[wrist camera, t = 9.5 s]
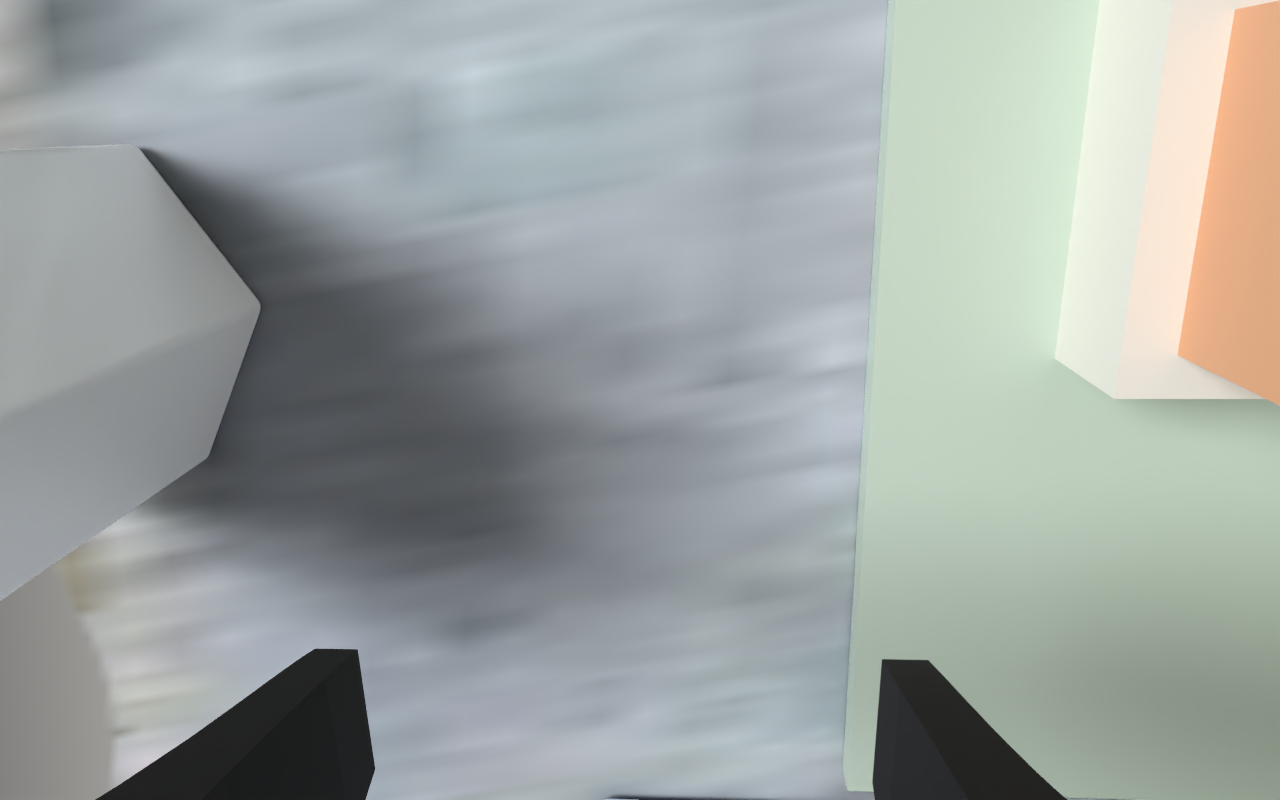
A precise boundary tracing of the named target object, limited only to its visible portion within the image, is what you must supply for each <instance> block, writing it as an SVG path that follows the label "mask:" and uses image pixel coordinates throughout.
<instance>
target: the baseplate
mask: <svg viewBox="0 0 1280 800" xmlns="http://www.w3.org/2000/svg"><path fill="white" fill-rule="evenodd" d="M1098 8H1099V0H888V13H887V30H886V47H885V64H884V80H883V97H882V114H881V131H880V148H879V165H878V182H877V199H876V216H875V233H874V250H873V267H872V283H871V300H870V317H869V334H868V351H867V368H866V385H865V402H864V419H863V436H862V453H861V469H860V486H859V503H858V520H857V537H856V554H855V571H854V588H853V605H852V622H851V639H850V656H849V672H848V689H847V706H846V723H845V740H844V757H843V774H844V778H845V783H846V787H847V791H869V792H874V790H873V784H872V780H873V767H874V754H875V741H876V729H877V716H878V703H879V691H880V678H881V665H882V659H898V660H929V661H930V662H931V663H932V664H933V665H934V666H935V667H936V669H937V670H938V671H939V672H940V673H941V674H942V675H943V676H944V677H945V678H946V679H947V680H948V681H949V682H950V683H951V684H952V685H953V687H954V688H955V689H956V690H957V691H958V692H959V693H960V694H961V695H962V696H963V697H964V698H965V699H966V700H967V702H968V703H969V704H970V705H971V706H972V707H973V708H974V709H975V710H976V711H977V712H978V713H979V714H980V715H981V716H982V717H983V719H984V720H985V721H986V722H987V723H988V724H989V725H990V726H991V727H992V728H993V729H994V730H995V731H996V732H997V733H998V734H999V735H1000V736H1001V737H1002V738H1003V739H1004V740H1005V741H1006V742H1007V743H1008V744H1009V745H1010V746H1011V747H1012V748H1013V749H1014V750H1015V751H1016V752H1017V753H1018V754H1019V755H1020V756H1021V757H1022V758H1023V759H1024V760H1025V761H1026V762H1027V763H1028V764H1029V765H1030V766H1031V767H1032V768H1033V769H1034V770H1035V771H1036V772H1037V773H1038V774H1039V775H1040V776H1042V777H1043V778H1044V779H1045V780H1046V781H1047V782H1048V783H1049V784H1050V785H1051V786H1052V787H1053V788H1054V789H1056V790H1057V791H1058V792H1059V793H1060V794H1061V795H1062V796H1064V797H1066V798H1099V799H1132V800H1280V406H1279V405H1277V404H1275V403H1273V402H1271V401H1269V400H1267V399H1113V398H1112V397H1110V396H1109V395H1107V394H1106V393H1105V392H1103V391H1102V390H1100V389H1099V388H1097V387H1096V386H1094V385H1093V384H1091V383H1090V382H1088V381H1087V380H1085V379H1084V378H1082V377H1081V376H1079V375H1078V374H1077V373H1075V372H1074V371H1072V370H1071V369H1069V368H1068V367H1066V366H1065V365H1063V364H1062V363H1060V362H1059V361H1057V360H1056V359H1055V353H1056V345H1057V337H1058V329H1059V320H1060V313H1061V304H1062V296H1063V288H1064V280H1065V272H1066V264H1067V256H1068V248H1069V240H1070V232H1071V224H1072V216H1073V208H1074V200H1075V192H1076V184H1077V176H1078V168H1079V160H1080V152H1081V144H1082V136H1083V128H1084V120H1085V112H1086V104H1087V96H1088V88H1089V80H1090V72H1091V64H1092V56H1093V48H1094V40H1095V32H1096V24H1097V16H1098Z"/></svg>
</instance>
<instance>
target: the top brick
mask: <svg viewBox="0 0 1280 800" xmlns="http://www.w3.org/2000/svg"><path fill="white" fill-rule="evenodd" d="M1177 355H1178V356H1180V357H1182V358H1184V359H1186V360H1188V361H1190V362H1192V363H1194V364H1196V365H1198V366H1201V367H1203V368H1205V369H1207V370H1209V371H1211V372H1213V373H1215V374H1217V375H1219V376H1221V377H1223V378H1225V379H1227V380H1229V381H1231V382H1233V383H1235V384H1237V385H1239V386H1241V387H1243V388H1245V389H1247V390H1249V391H1251V392H1253V393H1255V394H1257V395H1259V396H1261V397H1263V398H1265V399H1267V400H1269V401H1271V402H1273V403H1275V404H1277V405H1279V406H1280V0H1279V1H1274V2H1269V3H1264V4H1260V5H1255V6H1250V7H1245V8H1240V9H1235V12H1234V18H1233V24H1232V30H1231V36H1230V42H1229V48H1228V54H1227V60H1226V66H1225V72H1224V78H1223V84H1222V90H1221V96H1220V102H1219V108H1218V114H1217V120H1216V126H1215V132H1214V138H1213V144H1212V150H1211V156H1210V162H1209V168H1208V174H1207V180H1206V186H1205V192H1204V198H1203V204H1202V210H1201V216H1200V222H1199V228H1198V234H1197V240H1196V246H1195V252H1194V258H1193V264H1192V270H1191V276H1190V282H1189V288H1188V294H1187V300H1186V306H1185V312H1184V318H1183V324H1182V330H1181V336H1180V342H1179V348H1178V354H1177Z"/></svg>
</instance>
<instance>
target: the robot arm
mask: <svg viewBox="0 0 1280 800" xmlns="http://www.w3.org/2000/svg"><path fill="white" fill-rule="evenodd" d="M374 771H375V766H374V759H373V752H372V745H371V738H370V731H369V725H368V718H367V711H366V704H365V697H364V690H363V684H362V677H361V670H360V663H359V656H358V650H355V649H314V650H313V651H311V652H309V653H308V654H306V655H305V656H303V657H302V658H300V659H299V660H297V661H296V662H294V663H293V664H292V665H290V666H289V667H287V668H286V669H284V670H283V671H282V672H280V673H279V674H278V675H276V676H275V677H273V678H272V679H271V680H269V681H268V682H267V683H265V684H264V685H262V686H261V687H260V688H258V689H257V690H256V691H254V692H253V693H252V694H250V695H249V696H247V697H246V698H245V699H243V700H242V701H241V702H239V703H238V704H236V705H235V706H234V707H232V708H231V709H230V710H228V711H227V712H225V713H224V714H223V715H221V716H220V717H218V718H217V719H216V720H214V721H213V722H211V723H210V724H209V725H207V726H206V727H205V728H203V729H202V730H200V731H199V732H198V733H196V734H195V735H193V736H192V737H190V738H189V739H188V740H186V741H185V742H183V743H182V744H180V745H179V746H177V747H176V748H174V749H173V750H171V751H170V752H168V753H167V754H165V755H164V756H162V757H161V758H159V759H158V760H156V761H155V762H153V763H152V764H150V765H149V766H147V767H146V768H144V769H143V770H141V771H139V772H138V773H136V774H135V775H133V776H132V777H130V778H129V779H127V780H126V781H124V782H123V783H121V784H120V785H118V786H117V787H115V788H114V789H112V790H110V791H109V792H107V793H106V794H104V795H103V796H101V797H99V798H97V799H96V800H365V799H366V796H367V793H368V790H369V786H370V783H371V780H372V777H373V774H374ZM872 784H873V790H874V796H875V800H1067V799H1066V798H1065V797H1064V796H1062V795H1061V794H1060V793H1059V792H1058V791H1057V790H1056V789H1054V788H1053V787H1052V786H1051V785H1050V784H1049V783H1048V782H1047V781H1046V780H1045V779H1044V778H1043V777H1042V776H1040V775H1039V774H1038V773H1037V772H1036V771H1035V770H1034V769H1033V768H1032V767H1031V766H1030V765H1029V764H1028V763H1027V762H1026V761H1025V760H1024V759H1023V758H1022V757H1021V756H1020V755H1019V754H1018V753H1017V752H1016V751H1015V750H1014V749H1013V748H1012V747H1011V746H1010V745H1009V744H1008V743H1007V742H1006V741H1005V740H1004V739H1003V738H1002V737H1001V736H1000V735H999V734H998V733H997V732H996V731H995V730H994V729H993V728H992V727H991V726H990V725H989V724H988V723H987V722H986V721H985V720H984V719H983V717H982V716H981V715H980V714H979V713H978V712H977V711H976V710H975V709H974V708H973V707H972V706H971V705H970V704H969V703H968V702H967V700H966V699H965V698H964V697H963V696H962V695H961V694H960V693H959V692H958V691H957V690H956V689H955V688H954V687H953V685H952V684H951V683H950V682H949V681H948V680H947V679H946V678H945V677H944V676H943V675H942V674H941V673H940V672H939V671H938V670H937V669H936V667H935V666H934V665H933V664H932V663H931V662H930V661H929V660H898V659H882V665H881V678H880V691H879V703H878V716H877V729H876V741H875V754H874V767H873V780H872ZM603 800H637V799H603Z"/></svg>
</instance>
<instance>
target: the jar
mask: <svg viewBox="0 0 1280 800" xmlns="http://www.w3.org/2000/svg"><path fill="white" fill-rule="evenodd" d="M260 311H261V305H260V302H259V301H258V299H257V298H256V297H255V295H254V294H253V293H252V291H251V290H250V289H249V288H248V286H247V285H246V284H245V283H244V281H243V280H242V279H241V277H240V276H239V275H238V274H237V272H236V271H235V270H234V269H233V267H232V266H231V265H230V263H229V262H228V261H227V260H226V258H225V257H224V256H223V255H222V253H221V252H220V251H219V249H218V248H217V247H216V246H215V244H214V243H213V242H212V241H211V239H210V238H209V237H208V235H207V234H206V233H205V232H204V230H203V229H202V228H201V226H200V225H199V224H198V223H197V221H196V220H195V219H194V218H193V216H192V215H191V214H190V212H189V211H188V210H187V209H186V207H185V206H184V205H183V204H182V202H181V201H180V200H179V198H178V197H177V196H176V195H175V193H174V192H173V191H172V190H171V188H170V187H169V186H168V184H167V183H166V182H165V181H164V179H163V178H162V177H161V175H160V174H159V173H158V172H157V170H156V169H155V168H154V167H153V165H152V164H151V163H150V161H149V160H148V159H147V158H146V156H145V155H144V154H143V152H142V151H141V150H140V149H138V148H137V147H136V146H134V145H131V144H112V145H89V146H66V147H43V148H19V149H0V601H1V600H2V599H4V598H5V597H7V596H8V595H10V594H11V593H13V592H14V591H15V590H17V589H18V588H20V587H21V586H22V585H24V584H26V583H27V582H28V581H30V580H31V579H33V578H34V577H36V576H37V575H39V574H40V573H42V572H43V571H44V570H46V569H47V568H49V567H50V566H52V565H53V564H55V563H56V562H58V561H59V560H60V559H62V558H63V557H65V556H66V555H68V554H69V553H71V552H72V551H74V550H75V549H76V548H78V547H79V546H81V545H82V544H84V543H85V542H87V541H88V540H90V539H91V538H92V537H94V536H95V535H97V534H98V533H100V532H101V531H103V530H104V529H106V528H107V527H108V526H110V525H111V524H113V523H114V522H116V521H117V520H119V519H120V518H122V517H123V516H124V515H126V514H127V513H129V512H130V511H132V510H133V509H135V508H136V507H138V506H139V505H140V504H142V503H143V502H145V501H146V500H148V499H149V498H151V497H152V496H154V495H155V494H156V493H158V492H159V491H161V490H162V489H164V488H165V487H167V486H168V485H170V484H171V483H172V482H174V481H175V480H177V479H178V478H180V477H181V476H183V475H184V474H186V473H187V472H188V471H190V470H191V469H193V468H194V467H196V466H197V465H199V464H200V463H202V462H203V461H204V460H206V459H207V457H208V456H209V454H210V452H211V449H212V446H213V443H214V440H215V438H216V435H217V432H218V429H219V426H220V423H221V421H222V418H223V415H224V412H225V409H226V407H227V404H228V401H229V398H230V395H231V393H232V390H233V387H234V384H235V381H236V378H237V376H238V373H239V370H240V367H241V364H242V362H243V359H244V356H245V353H246V350H247V348H248V345H249V342H250V339H251V336H252V333H253V331H254V328H255V325H256V322H257V319H258V317H259V314H260Z"/></svg>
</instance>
